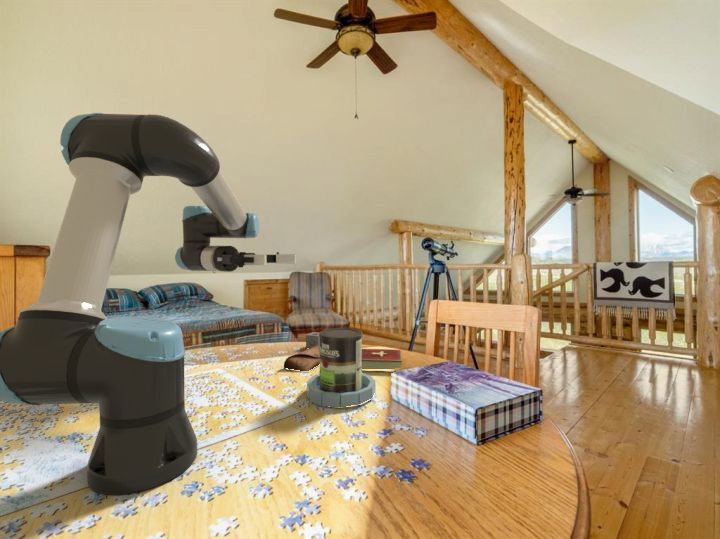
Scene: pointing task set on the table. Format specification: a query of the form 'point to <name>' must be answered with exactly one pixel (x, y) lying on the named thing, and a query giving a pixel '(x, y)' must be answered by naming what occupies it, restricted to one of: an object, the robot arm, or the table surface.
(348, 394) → the bowl
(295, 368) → the sunglasses case
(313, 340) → the dice cube
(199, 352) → the table surface
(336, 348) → the coffee can
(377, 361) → the hardcover book
